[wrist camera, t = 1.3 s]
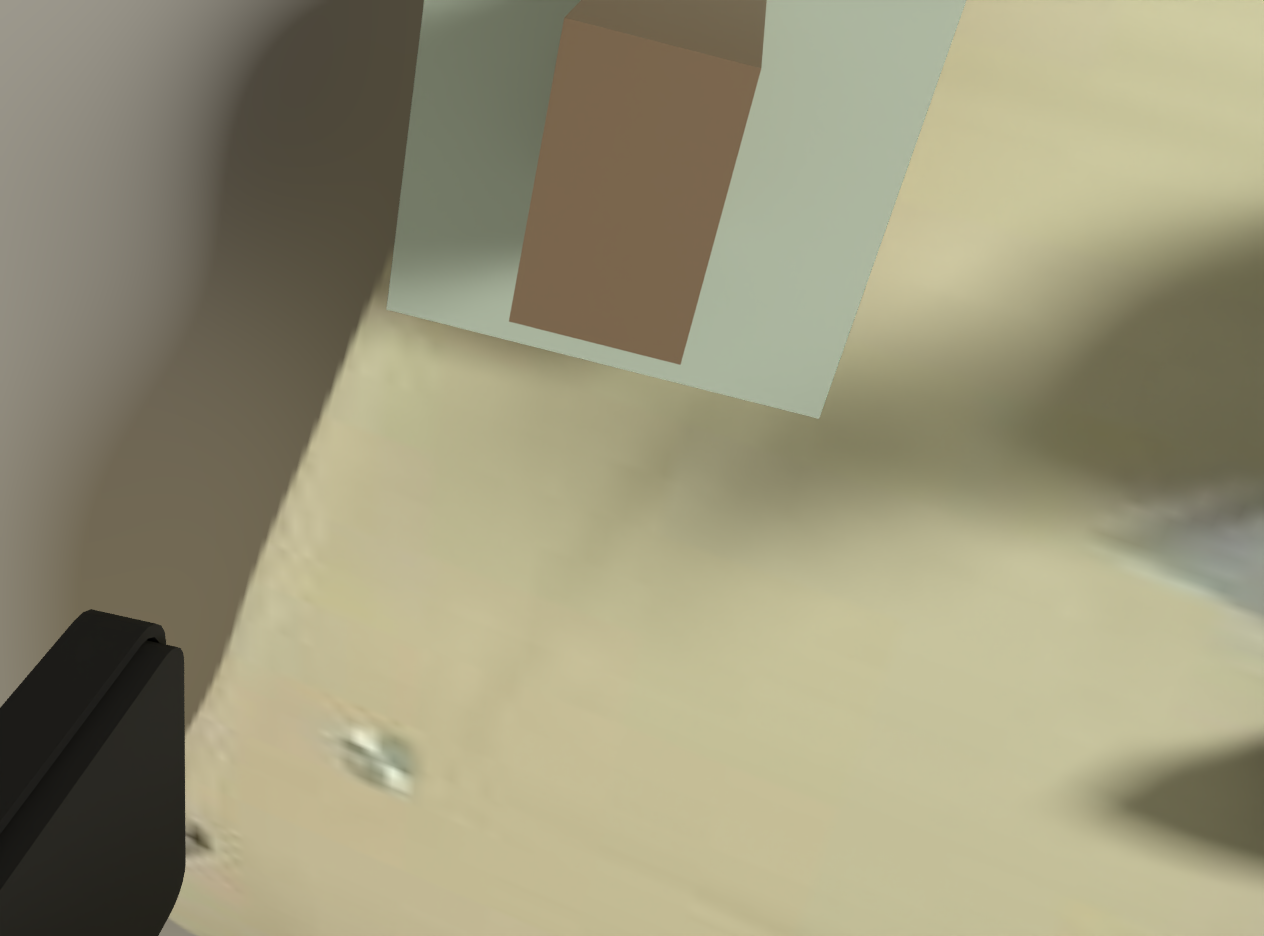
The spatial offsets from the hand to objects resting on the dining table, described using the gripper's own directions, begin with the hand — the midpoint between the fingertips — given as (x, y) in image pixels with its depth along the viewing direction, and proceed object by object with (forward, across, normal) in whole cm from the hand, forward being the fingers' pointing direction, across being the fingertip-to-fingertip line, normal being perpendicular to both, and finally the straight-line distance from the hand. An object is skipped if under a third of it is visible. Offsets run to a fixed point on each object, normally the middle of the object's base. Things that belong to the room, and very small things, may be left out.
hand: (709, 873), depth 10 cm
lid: (+19, +2, -2) cm, 19 cm away
